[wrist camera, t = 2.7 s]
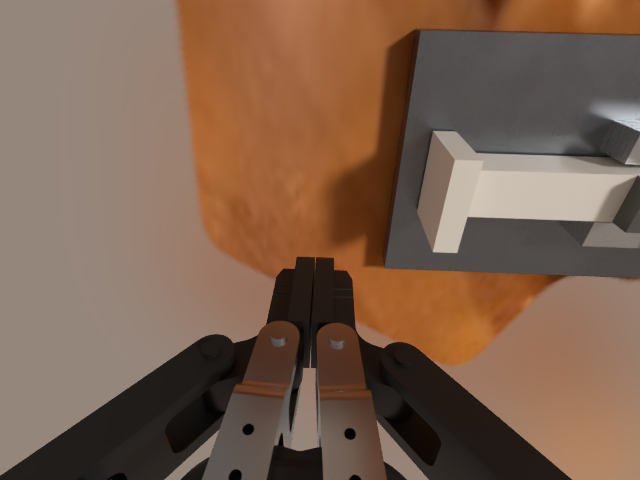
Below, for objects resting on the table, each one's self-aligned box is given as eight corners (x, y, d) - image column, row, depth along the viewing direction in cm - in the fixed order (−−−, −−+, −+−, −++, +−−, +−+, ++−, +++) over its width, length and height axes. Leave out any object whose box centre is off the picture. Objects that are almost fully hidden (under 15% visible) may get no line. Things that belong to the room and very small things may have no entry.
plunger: (432, 130, 22) (454, 159, 18) (658, 137, 21) (733, 168, 17) (417, 211, 25) (432, 252, 21) (613, 218, 24) (668, 260, 20)
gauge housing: (415, 28, 20) (458, 42, 13) (853, 39, 20) (1146, 59, 12) (382, 256, 29) (397, 338, 22) (683, 268, 28) (797, 355, 21)
